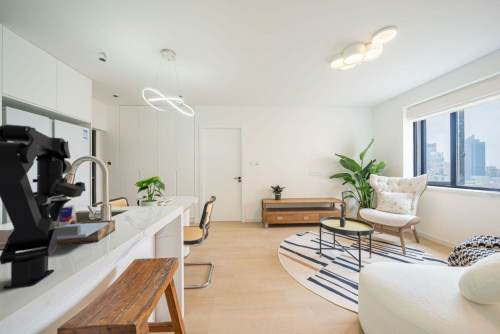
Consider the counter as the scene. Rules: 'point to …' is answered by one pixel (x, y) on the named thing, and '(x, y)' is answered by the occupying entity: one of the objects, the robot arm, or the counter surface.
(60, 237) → the lid
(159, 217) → the counter surface
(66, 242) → the box
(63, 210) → the energy drink
